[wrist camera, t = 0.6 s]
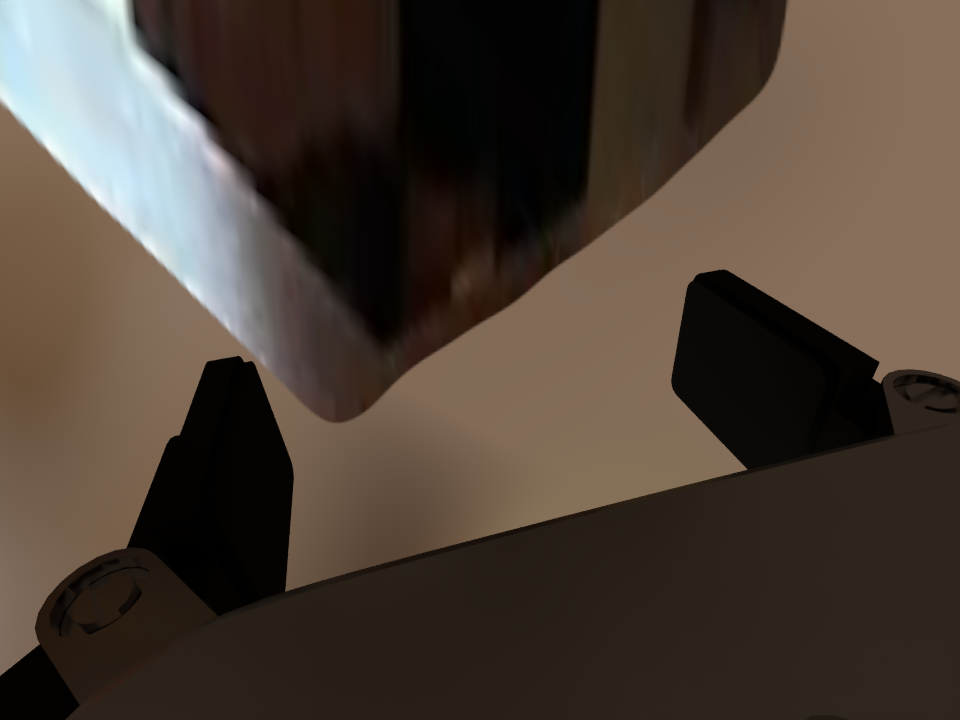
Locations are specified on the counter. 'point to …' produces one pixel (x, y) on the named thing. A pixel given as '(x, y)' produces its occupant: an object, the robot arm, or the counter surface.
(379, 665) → the robot arm
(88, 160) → the counter surface
